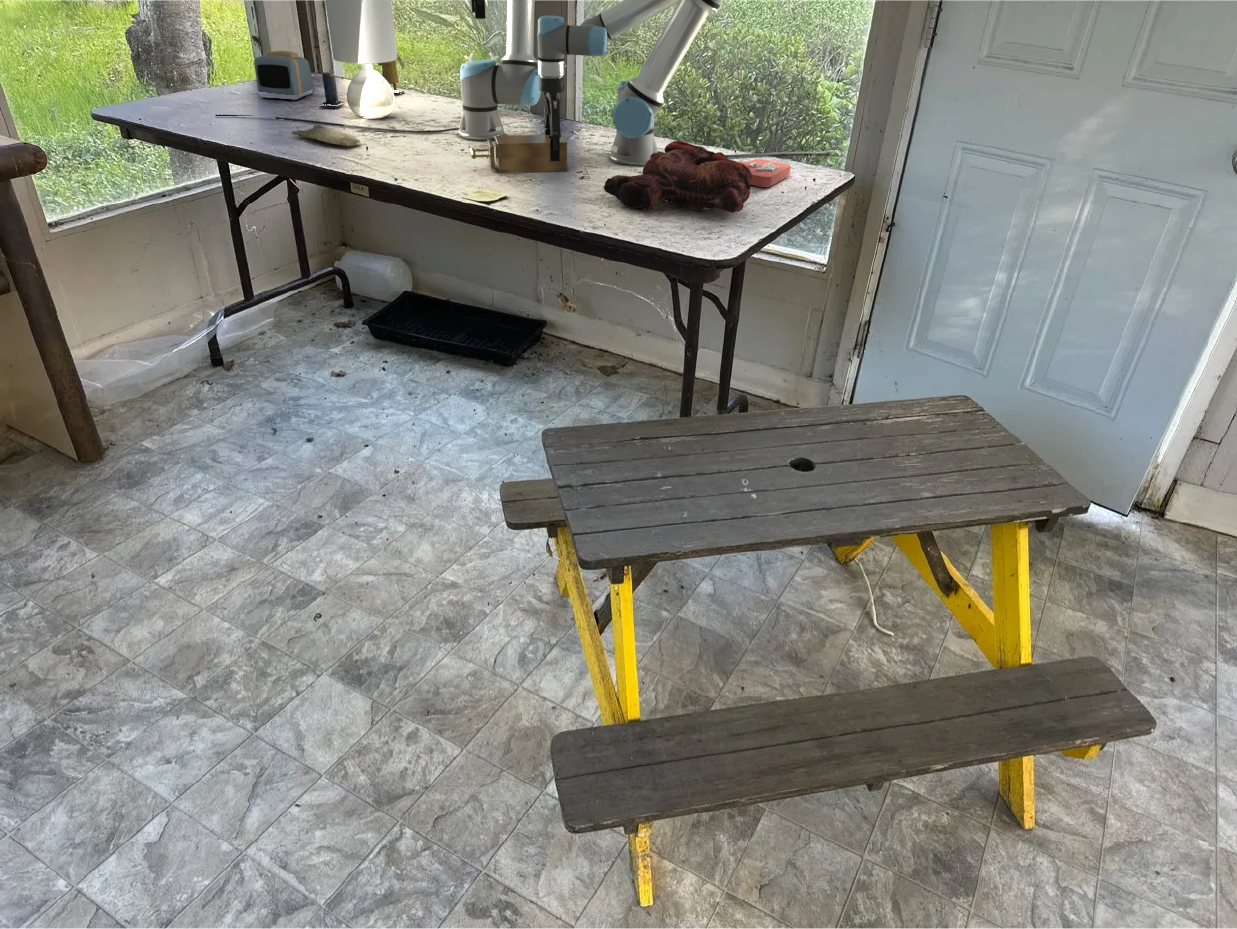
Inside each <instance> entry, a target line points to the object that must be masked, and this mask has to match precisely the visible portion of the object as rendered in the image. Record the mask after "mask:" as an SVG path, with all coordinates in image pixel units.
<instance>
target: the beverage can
mask: <svg viewBox="0 0 1237 929" xmlns="http://www.w3.org/2000/svg"><path fill="white" fill-rule="evenodd" d="M321 77H322V85H323V91H324V97H325V101H323V102H322V103H321V104H324V105H325V104H326V105H327V104H331V105H338V104H340V103H342V102H344V104H342V105H339V106H337V107H333V106H319V108H321V109H322V108H326V107H327V108H328V109H333V108H334V109H335V110H337V109H338V108H341V107H342V106H344V105H345V101H342V100H339V97H338V95H339V94H338V88H337V82H336V74H334V72H333V71H323V72H322V74H321Z"/></svg>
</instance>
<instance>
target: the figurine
mask: <svg viewBox="0 0 1237 929" xmlns="http://www.w3.org/2000/svg"><path fill="white" fill-rule="evenodd" d="M396 60H397V61H398V63H399V64H400V67H401V69H402V70H401V71H404V68H405V63H404V62H403V59H402V58H401V56H400V55H399V53H398V52H397V59H396ZM396 60H394V61H390V62H383V63H377V65H378V66H380V67H381V72H382V74H381V76H382V77H383V78H384V79H385V80H386V81H387V82H388V84H389V85H390V86H391V85H392V87H393V90H398V89H397V88H398V87H397V84H399V81H400V80H399V75H398V71H397V62H396ZM401 91H402V92H399V93H393V94H394V96H399V95H401V94H400V93H403V92H404V91H405V90H401ZM398 94H399V95H398ZM403 94H404V93H403Z"/></svg>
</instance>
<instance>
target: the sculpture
mask: <svg viewBox="0 0 1237 929" xmlns="http://www.w3.org/2000/svg"><path fill="white" fill-rule="evenodd" d="M725 155H726V154H724V153H723V152H720V151H719V152H717V151H716V152H714V151H711V150H708V149H706V148H705V147H704V146H702V145H695V144H692V143H689V142H686V141H684V140H680V139H677V140H673V141H671V142H669V143H668V144H667V145H666V146H665V147H664V151H660V153H658V152H657V153H653V154H652V155H651V157H650V158H651V159H650V160H648V162H647V163H646V165H644V166H643V168H642V174H638V175H621V174H617V175H613V176H612V177H608V178H607V179H606V180H605V181H604V184H603V185H604V186H603V190H604V192H605V193H606V194H608V195H609V196H610V195H611V196H613V197H615V198H616V199H617V200H618V201H619V202H620V203H621V204H622V205H623V206H625V207H626V208H628V209H636V208H637V209H638V208H641V209H643V210H647V211H649V210H654V208H655V207H657V205H658V203H659V202H660V201H665V202H668V203H669V204H671V203H672V204H674V205H675V206H678V207H681V208H689V209H692V210H696V211H704V209H707V210H715V209H717V210H721V211H725V212H728V213H732V214H734V213H740V212H741V211H743V210H744V207H745V205H744V204H745V203H746V202H747V201H748V200H749V198H750V196H751V190H750V189H751V184H750V180H751V178H752V173H751V171H750V169H749V168H747V167H746V166H745V165H744V164H742V163H740V162H741V161H737V160H733V159H729V158H726V156H725Z"/></svg>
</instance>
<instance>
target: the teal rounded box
mask: <svg viewBox="0 0 1237 929" xmlns="http://www.w3.org/2000/svg"><path fill="white" fill-rule="evenodd" d="M253 65H254V72H255V77H256V78H255V79H256V86H257V92H258V91H259V92H267V93H276V94H285V95H299V94H302V93H304V92H307V91H309V90H311V89H314V90H315V85H314V81H313V76H312V72H311V67H310V62H309V60H307V59H306V58H305V57H302V56H299V55H298V53H296V52H293V51H289V50H275V51H269V52H266V55H261V56H257V57H256V58H254V60H253Z"/></svg>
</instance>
